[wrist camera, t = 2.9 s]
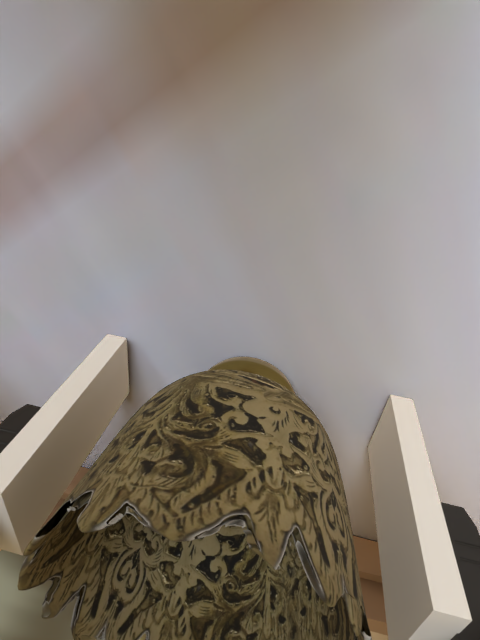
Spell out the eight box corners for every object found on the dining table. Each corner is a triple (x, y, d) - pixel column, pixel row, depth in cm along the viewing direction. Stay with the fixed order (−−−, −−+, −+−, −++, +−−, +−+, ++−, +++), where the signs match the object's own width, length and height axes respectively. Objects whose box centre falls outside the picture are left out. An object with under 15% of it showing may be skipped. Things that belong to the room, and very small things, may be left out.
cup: (235, 474, 17) (177, 717, 11) (119, 360, 15) (-46, 576, 9) (390, 417, 14) (447, 719, 7) (270, 260, 12) (195, 487, 5)
